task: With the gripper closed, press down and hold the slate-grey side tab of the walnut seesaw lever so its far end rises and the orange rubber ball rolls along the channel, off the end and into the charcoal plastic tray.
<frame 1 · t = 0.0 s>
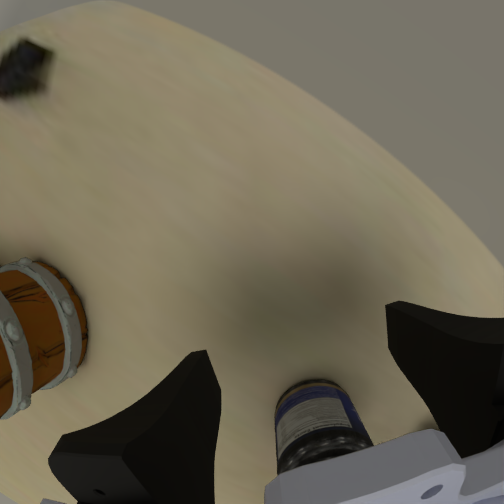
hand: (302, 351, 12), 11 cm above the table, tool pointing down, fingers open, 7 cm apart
mug: (27, 301, 23), on the table
pill bottle: (312, 408, 23), on the table
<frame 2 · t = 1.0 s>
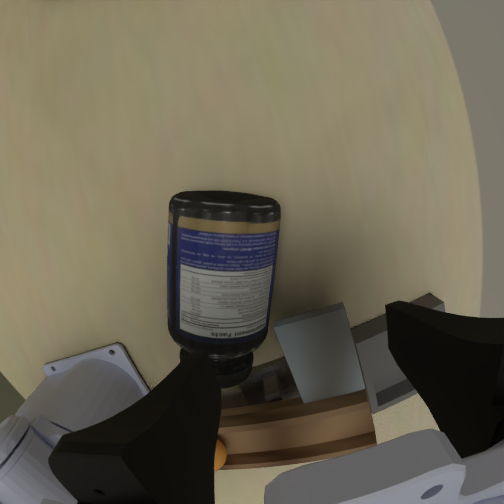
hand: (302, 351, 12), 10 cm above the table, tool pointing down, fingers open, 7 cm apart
tray: (397, 349, 23), on the table
fulcrum: (280, 395, 24), on the table
ball: (206, 454, 20), point 5 cm above the table, tilted 10°, touching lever
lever: (256, 411, 19), point 5 cm above the table, hinge at -12.0°, touching ball
pill bottle: (226, 191, 17), point 4 cm above the table
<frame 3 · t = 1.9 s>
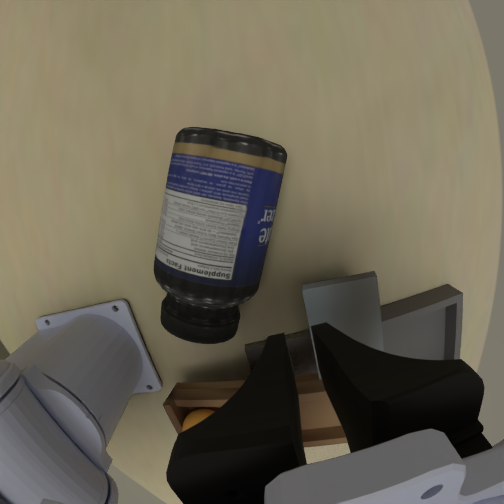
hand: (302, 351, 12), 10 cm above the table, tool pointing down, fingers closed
tray: (410, 338, 23), on the table
fulcrum: (288, 375, 23), on the table
ball: (204, 429, 19), point 5 cm above the table, tilted 10°, touching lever
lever: (268, 383, 18), point 5 cm above the table, hinge at -12.0°, touching ball
pill bottle: (233, 133, 16), point 3 cm above the table
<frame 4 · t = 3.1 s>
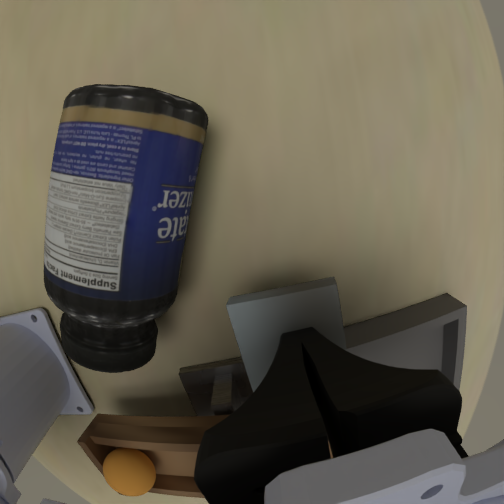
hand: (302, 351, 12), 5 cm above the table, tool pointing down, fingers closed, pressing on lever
tray: (397, 363, 18), on the table
fulcrum: (238, 406, 18), on the table
ball: (129, 471, 13), point 5 cm above the table, tilted 5°, touching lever
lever: (195, 426, 13), point 5 cm above the table, hinge at -8.3°, touching ball, gripper
pill bottle: (138, 94, 11), point 3 cm above the table
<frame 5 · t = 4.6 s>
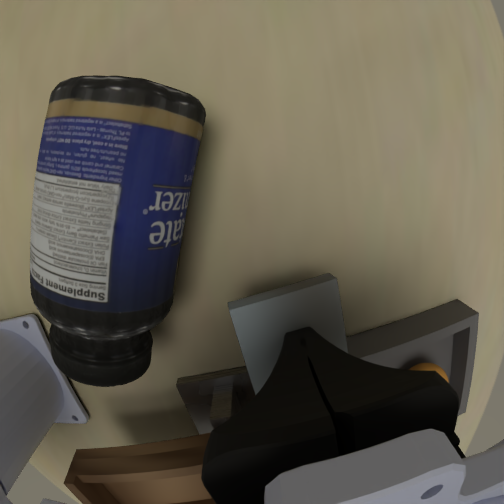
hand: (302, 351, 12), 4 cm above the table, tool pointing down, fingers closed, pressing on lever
tray: (405, 372, 17), on the table
fulcrum: (238, 417, 17), on the table
ball: (423, 388, 15), point 2 cm above the table, tilted 44°, touching tray
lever: (197, 446, 11), point 5 cm above the table, hinge at 7.3°, touching gripper
pill bottle: (130, 87, 10), point 3 cm above the table
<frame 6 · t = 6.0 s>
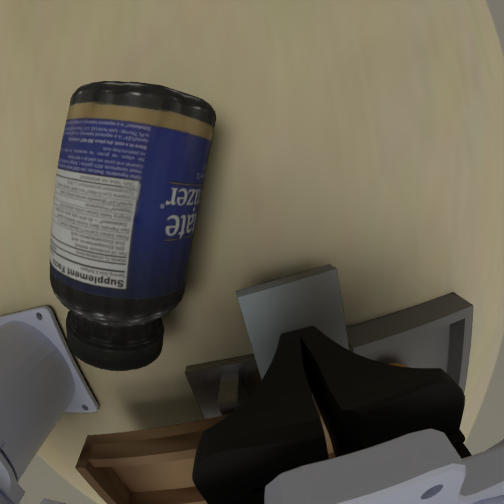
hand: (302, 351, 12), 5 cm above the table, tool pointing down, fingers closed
tray: (404, 362, 17), on the table
fulcrum: (244, 404, 18), on the table
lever: (205, 428, 12), point 5 cm above the table, hinge at 7.3°
pill bottle: (146, 92, 11), point 3 cm above the table
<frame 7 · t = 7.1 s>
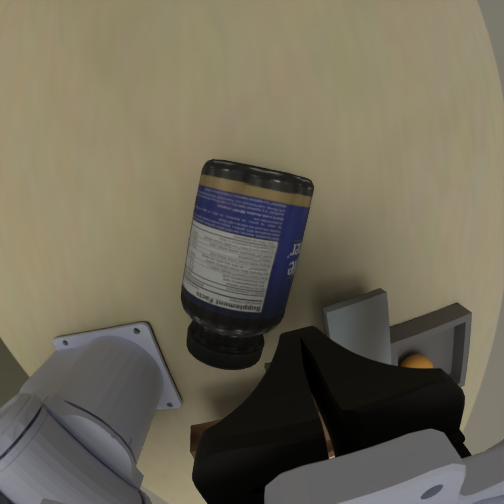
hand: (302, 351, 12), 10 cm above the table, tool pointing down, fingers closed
tray: (421, 354, 23), on the table
ball: (415, 372, 21), point 2 cm above the table, tilted 112°, touching tray
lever: (295, 406, 18), point 5 cm above the table, hinge at 7.3°
pill bottle: (260, 164, 17), point 3 cm above the table
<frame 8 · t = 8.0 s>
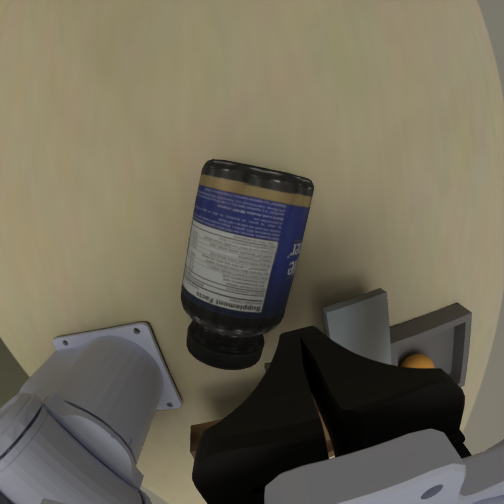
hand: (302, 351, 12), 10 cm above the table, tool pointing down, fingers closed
tray: (421, 354, 23), on the table
ball: (416, 372, 21), point 2 cm above the table, tilted 109°, touching tray
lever: (295, 406, 18), point 5 cm above the table, hinge at 7.3°
pill bottle: (260, 164, 17), point 3 cm above the table
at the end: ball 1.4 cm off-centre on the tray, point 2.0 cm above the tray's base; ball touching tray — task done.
